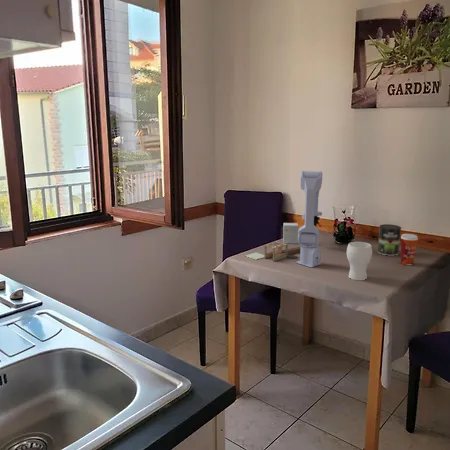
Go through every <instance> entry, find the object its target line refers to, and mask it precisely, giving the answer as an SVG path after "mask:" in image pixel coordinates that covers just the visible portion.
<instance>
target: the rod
mask: <svg viewBox="0 0 450 450" xmlns="http://www.w3.org/2000/svg"><path fill="white" fill-rule="evenodd" d="M300 249H301V246H297V247H292V248H288V252H287V256H290V255H293V254H298V253H300ZM282 253H285V249H282Z"/></svg>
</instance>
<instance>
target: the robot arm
mask: <svg viewBox="0 0 450 450" xmlns="http://www.w3.org/2000/svg"><path fill="white" fill-rule="evenodd" d="M322 184H323V172H322V171H321V170H320V171H316V170H315V171H312V170H311V171H310V170H308V171H307V170H302V171H300V189H301V190H302V191H304V193H305V194H304V195H305V202H304V204H305V205H304V209H305V210H304V214H302V215H301V220H304V224H303V225H302V226H300V227H298V243H297V244H298V245H299V247H301V249H300V252H299V253H300V254H299V260H297V261H295V263H296V264H299V265H301V266H305V267H308V268H314V267H317V266H321V265H322V250H321V249H320V248H319V247H317V246H319V244H320V229H319V228H318V227H317V225H318V223H319V220H320V218H321V217H322V216H323V212H322V211H319V197H320V190H321V188H322ZM320 216H321V217H320Z"/></svg>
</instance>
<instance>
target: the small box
mask: <svg viewBox="0 0 450 450" xmlns="http://www.w3.org/2000/svg"><path fill="white" fill-rule="evenodd" d="M282 226H283V227H282V231H283V232H282V233H283V234H282V241H283V242H282V243H284V244H293V245H294V244H298V231H299V224H298V222H283V225H282Z"/></svg>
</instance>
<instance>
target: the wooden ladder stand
mask: <svg viewBox="0 0 450 450" xmlns="http://www.w3.org/2000/svg"><path fill="white" fill-rule="evenodd" d="M280 245H281V246H280ZM288 245H289V243H283V242H280V241H275V242H271V243H267V244H264V249H263V251H264V252H263V255H264V258H263V259H268V258H272V262H276V261H279V260H282V259H283V260H284V259H286V258H288V257H287V256H288V255H287V252H288V249H289V248H288V247H289V246H288ZM274 246H277V247H274ZM267 247H268V248H272V251H269V252H267V251H268V250H267V249H268V248H267ZM279 247H282V248H283V247H285V249H284V250H285V253H282V254H278V255H275V249H276V248H279Z"/></svg>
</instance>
